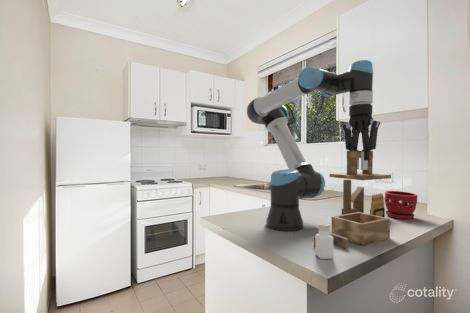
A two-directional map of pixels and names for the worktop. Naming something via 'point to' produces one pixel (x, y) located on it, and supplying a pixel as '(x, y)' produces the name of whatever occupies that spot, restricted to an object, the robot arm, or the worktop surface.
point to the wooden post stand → (352, 168)
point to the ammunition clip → (377, 205)
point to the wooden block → (352, 198)
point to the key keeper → (338, 241)
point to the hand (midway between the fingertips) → (359, 169)
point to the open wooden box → (361, 227)
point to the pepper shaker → (324, 242)
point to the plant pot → (400, 204)
